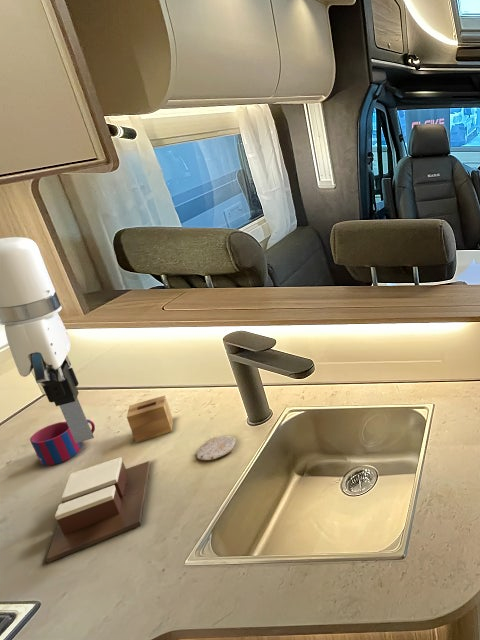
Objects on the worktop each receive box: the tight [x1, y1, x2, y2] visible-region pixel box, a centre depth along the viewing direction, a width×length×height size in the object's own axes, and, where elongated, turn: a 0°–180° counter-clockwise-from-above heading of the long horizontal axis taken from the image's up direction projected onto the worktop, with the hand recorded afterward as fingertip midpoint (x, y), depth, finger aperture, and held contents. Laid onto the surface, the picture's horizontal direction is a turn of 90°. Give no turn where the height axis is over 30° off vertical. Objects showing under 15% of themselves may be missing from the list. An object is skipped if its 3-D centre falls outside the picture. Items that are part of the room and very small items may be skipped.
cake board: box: [45, 460, 151, 564], centre depth 85 cm, size 13×18×1 cm
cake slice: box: [54, 485, 122, 535], centre depth 81 cm, size 8×3×5 cm, turn 125°
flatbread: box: [196, 435, 237, 461], centre depth 100 cm, size 8×8×1 cm
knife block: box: [126, 395, 174, 444], centre depth 104 cm, size 7×5×8 cm
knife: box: [48, 363, 95, 443], centre depth 80 cm, size 3×3×17 cm
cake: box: [61, 456, 128, 503], centre depth 87 cm, size 8×7×5 cm
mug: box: [29, 419, 96, 467], centre depth 98 cm, size 7×10×7 cm
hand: (64, 392), depth 79 cm, fingers closed on knife, 3 cm apart
